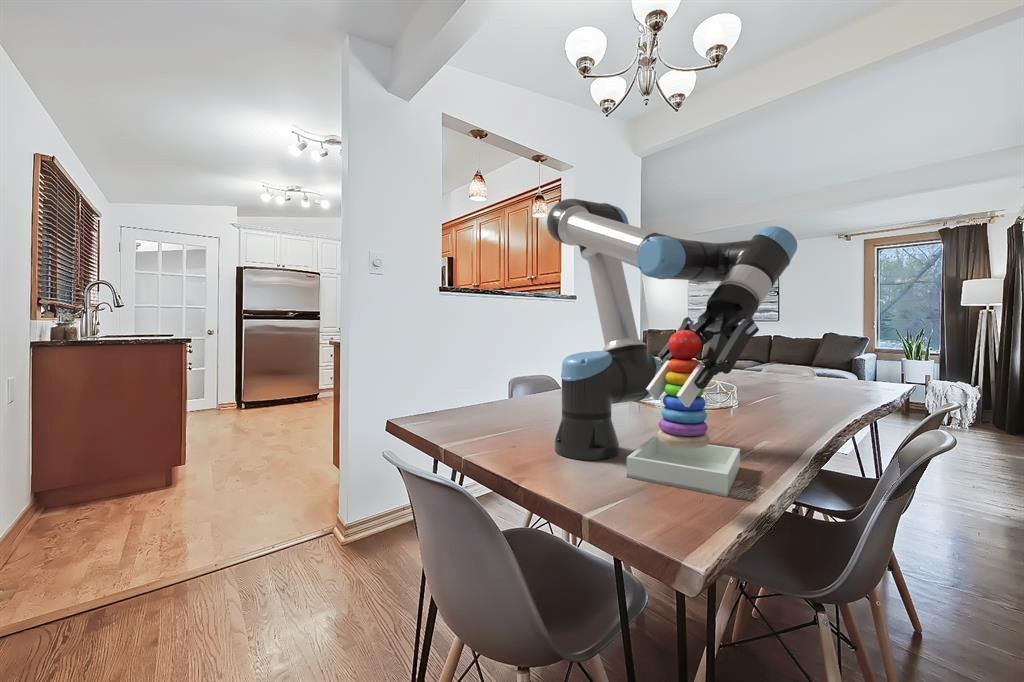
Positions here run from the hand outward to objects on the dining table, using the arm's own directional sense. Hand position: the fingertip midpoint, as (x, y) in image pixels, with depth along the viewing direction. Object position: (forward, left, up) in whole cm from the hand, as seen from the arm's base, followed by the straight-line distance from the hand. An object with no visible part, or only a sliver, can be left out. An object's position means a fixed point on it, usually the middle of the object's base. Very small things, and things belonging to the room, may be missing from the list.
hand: (666, 397), depth 70 cm
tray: (-1, +20, -18) cm, 27 cm away
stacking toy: (+2, +3, -8) cm, 9 cm away
